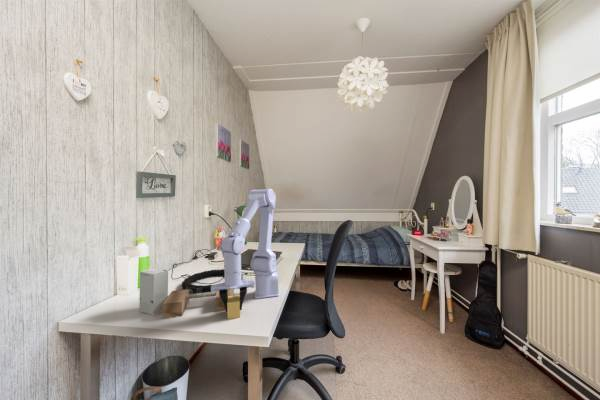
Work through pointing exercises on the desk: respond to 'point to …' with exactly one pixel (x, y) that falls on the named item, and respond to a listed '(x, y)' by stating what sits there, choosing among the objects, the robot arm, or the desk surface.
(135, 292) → the desk surface
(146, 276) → the skincare box
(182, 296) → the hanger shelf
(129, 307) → the desk surface
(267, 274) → the robot arm
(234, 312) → the yellow block
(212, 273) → the cable lock
